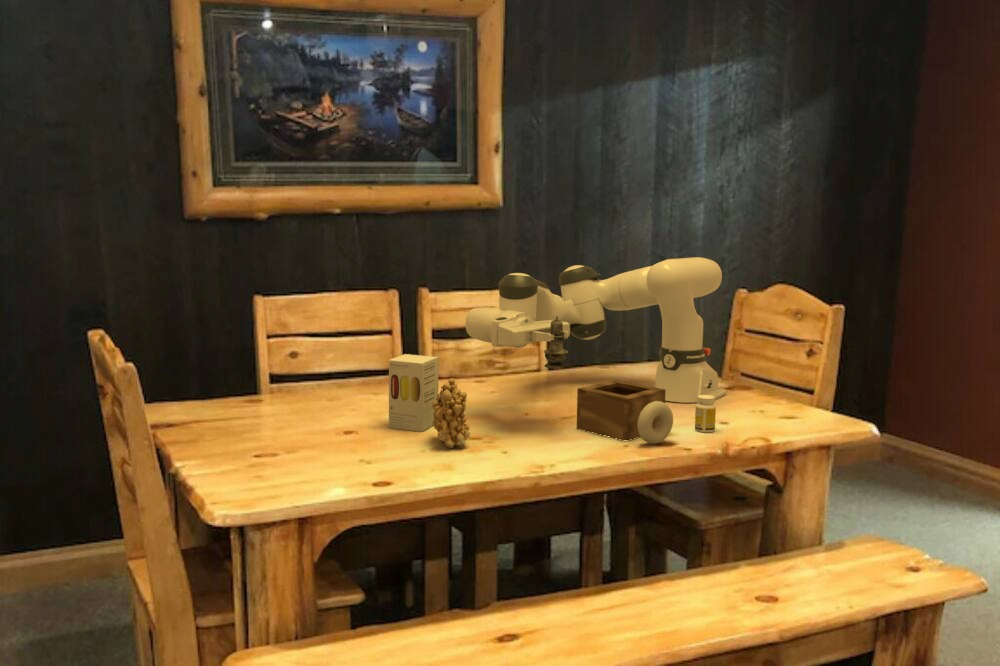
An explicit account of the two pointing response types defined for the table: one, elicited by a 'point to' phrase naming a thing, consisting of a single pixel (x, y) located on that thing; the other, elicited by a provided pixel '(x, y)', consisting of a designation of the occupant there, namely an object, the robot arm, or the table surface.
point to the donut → (647, 419)
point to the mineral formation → (451, 415)
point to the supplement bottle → (705, 414)
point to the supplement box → (412, 391)
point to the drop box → (615, 408)
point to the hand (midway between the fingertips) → (559, 336)
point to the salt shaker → (556, 347)
